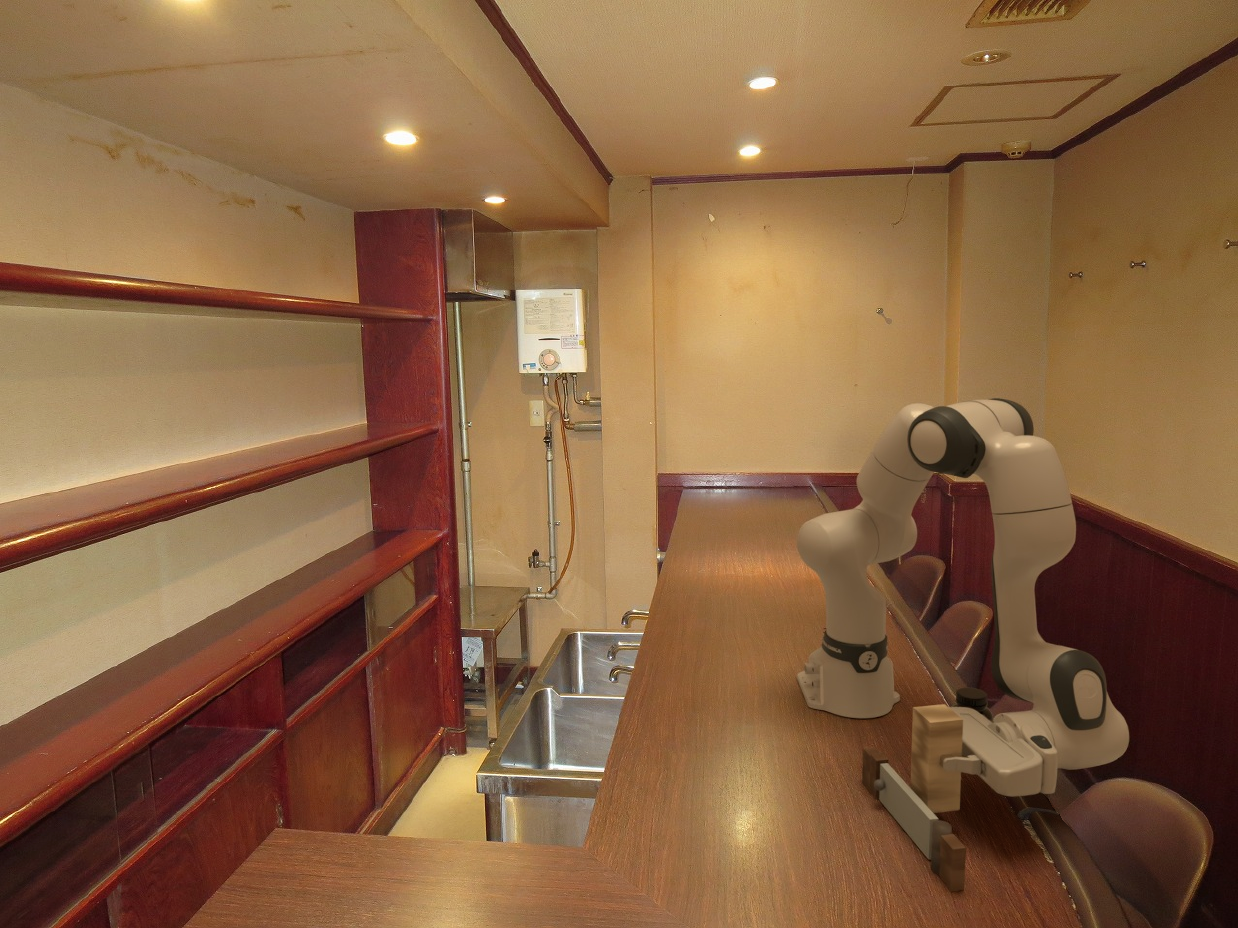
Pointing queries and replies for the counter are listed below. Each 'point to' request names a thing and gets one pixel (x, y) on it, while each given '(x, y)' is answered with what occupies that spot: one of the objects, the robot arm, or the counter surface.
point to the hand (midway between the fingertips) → (930, 752)
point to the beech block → (936, 756)
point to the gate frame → (945, 845)
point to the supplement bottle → (973, 700)
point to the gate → (906, 808)
